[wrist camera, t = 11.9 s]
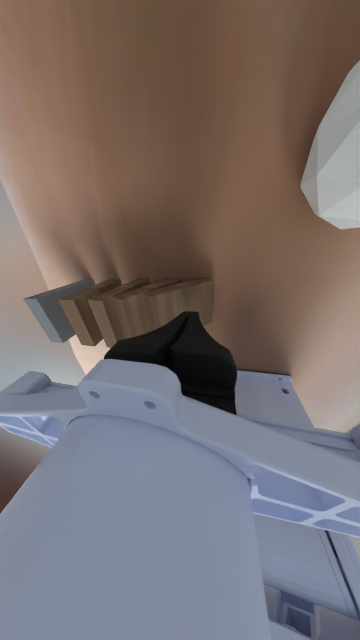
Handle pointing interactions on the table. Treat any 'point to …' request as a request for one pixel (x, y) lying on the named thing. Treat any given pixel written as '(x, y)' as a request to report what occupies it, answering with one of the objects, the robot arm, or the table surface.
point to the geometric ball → (337, 159)
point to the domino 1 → (55, 310)
